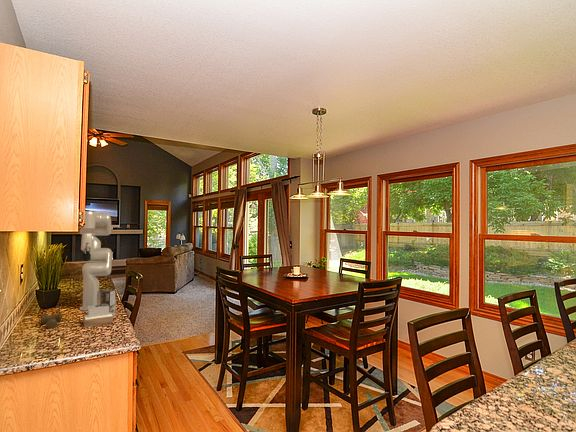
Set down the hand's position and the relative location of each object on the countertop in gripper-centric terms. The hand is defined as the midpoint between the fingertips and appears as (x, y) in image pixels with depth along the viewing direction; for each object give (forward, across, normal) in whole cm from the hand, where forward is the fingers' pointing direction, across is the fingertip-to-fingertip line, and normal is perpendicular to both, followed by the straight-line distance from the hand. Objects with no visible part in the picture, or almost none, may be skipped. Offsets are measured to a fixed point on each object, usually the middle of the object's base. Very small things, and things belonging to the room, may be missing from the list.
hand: (86, 259), depth 194 cm
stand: (+36, +10, +6) cm, 38 cm away
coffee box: (+36, -4, +12) cm, 39 cm away
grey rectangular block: (+37, -2, -16) cm, 40 cm away
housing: (+32, +10, +6) cm, 34 cm away
